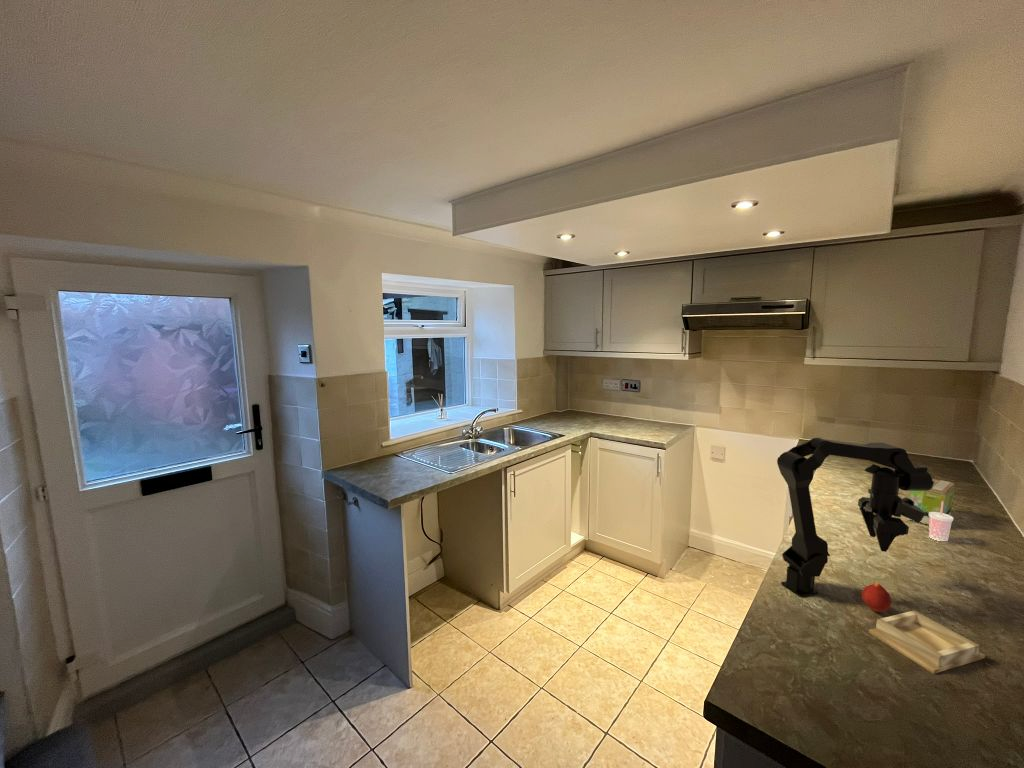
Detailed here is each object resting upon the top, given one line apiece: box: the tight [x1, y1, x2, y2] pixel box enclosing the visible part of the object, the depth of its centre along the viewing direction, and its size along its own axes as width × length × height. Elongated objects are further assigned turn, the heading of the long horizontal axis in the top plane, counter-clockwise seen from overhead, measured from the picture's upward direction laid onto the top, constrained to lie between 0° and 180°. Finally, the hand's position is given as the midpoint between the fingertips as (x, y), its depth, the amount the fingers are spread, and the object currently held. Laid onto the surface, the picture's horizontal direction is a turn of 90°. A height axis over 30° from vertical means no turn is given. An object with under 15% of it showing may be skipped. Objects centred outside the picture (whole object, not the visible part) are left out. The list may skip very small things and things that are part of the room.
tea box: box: [909, 478, 956, 523], centre depth 164 cm, size 15×10×15 cm, turn 126°
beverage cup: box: [928, 501, 954, 541], centre depth 147 cm, size 6×6×14 cm
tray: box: [868, 610, 986, 675], centre depth 99 cm, size 16×13×3 cm
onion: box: [861, 581, 892, 613], centre depth 111 cm, size 6×6×8 cm
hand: (877, 543), depth 119 cm, fingers open, 9 cm apart
